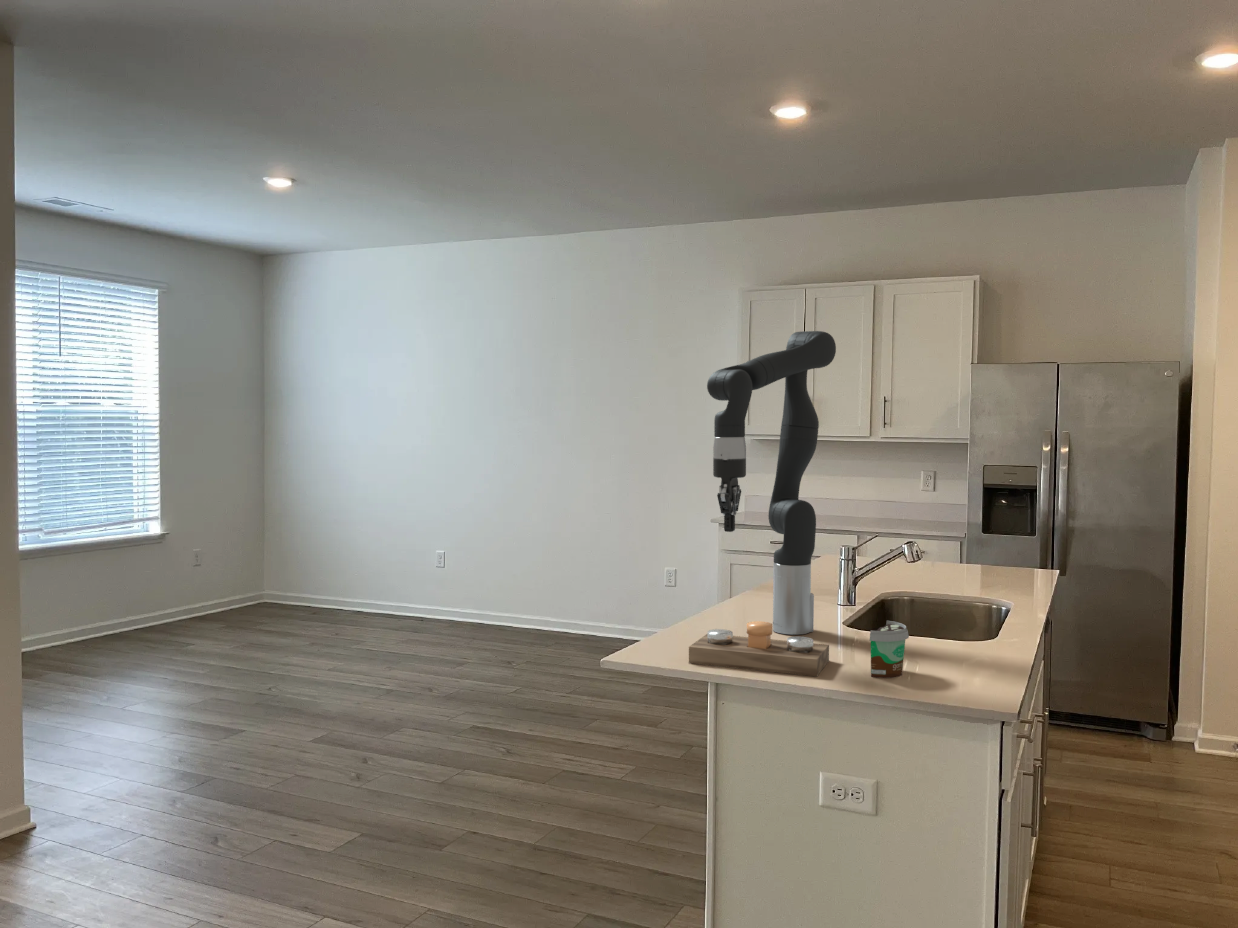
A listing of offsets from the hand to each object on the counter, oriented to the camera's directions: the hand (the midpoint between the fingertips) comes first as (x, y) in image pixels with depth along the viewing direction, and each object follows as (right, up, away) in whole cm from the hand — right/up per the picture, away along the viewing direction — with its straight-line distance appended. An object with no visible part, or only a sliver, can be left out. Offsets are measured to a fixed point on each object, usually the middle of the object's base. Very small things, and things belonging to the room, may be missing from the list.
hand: (729, 531), depth 227 cm
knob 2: (+14, -28, -15) cm, 35 cm away
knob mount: (+5, -28, -11) cm, 31 cm away
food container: (+32, -29, -21) cm, 48 cm away
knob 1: (-3, -28, -8) cm, 29 cm away
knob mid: (+5, -26, -11) cm, 28 cm away
